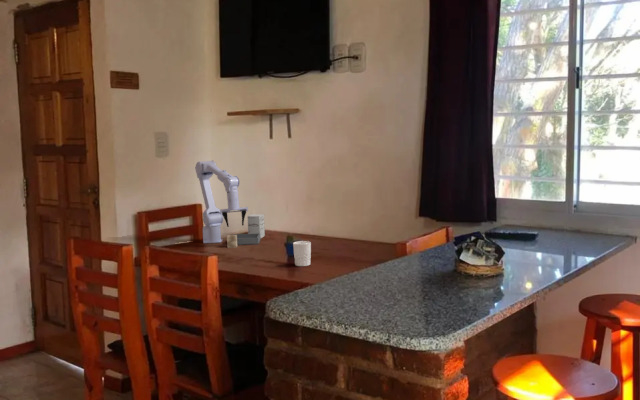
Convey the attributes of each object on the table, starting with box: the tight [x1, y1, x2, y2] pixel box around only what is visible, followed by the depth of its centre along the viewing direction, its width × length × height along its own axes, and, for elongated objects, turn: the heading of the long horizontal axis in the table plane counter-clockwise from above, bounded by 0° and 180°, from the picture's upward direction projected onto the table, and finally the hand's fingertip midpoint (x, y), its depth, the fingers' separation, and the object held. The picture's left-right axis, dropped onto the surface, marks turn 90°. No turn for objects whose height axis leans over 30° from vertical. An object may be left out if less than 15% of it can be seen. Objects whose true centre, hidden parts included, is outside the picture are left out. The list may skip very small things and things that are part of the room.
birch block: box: [226, 234, 238, 249], centre depth 339 cm, size 4×4×6 cm
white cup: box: [292, 240, 312, 267], centre depth 290 cm, size 8×8×10 cm
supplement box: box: [247, 213, 266, 239], centre depth 364 cm, size 7×7×13 cm
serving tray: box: [230, 233, 262, 246], centre depth 350 cm, size 16×14×4 cm
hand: (235, 226), depth 338 cm, fingers open, 7 cm apart
